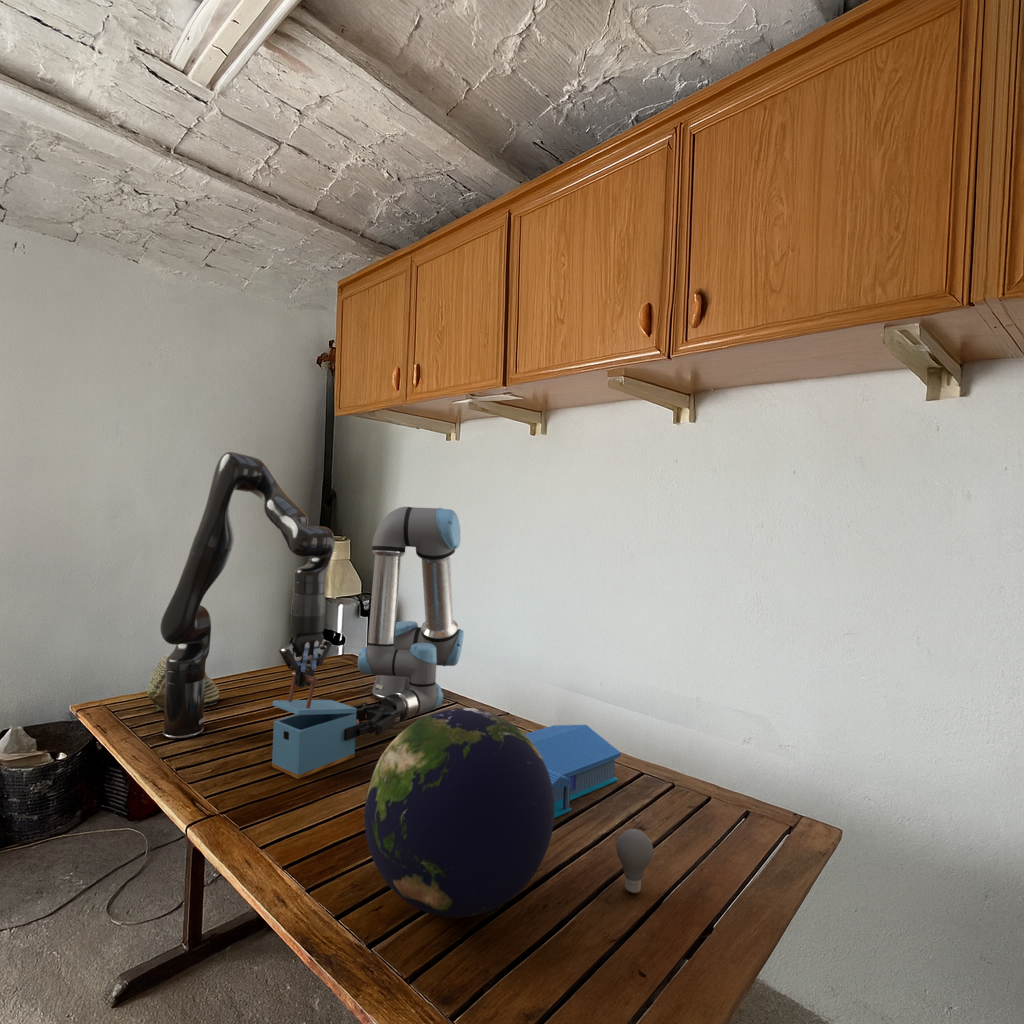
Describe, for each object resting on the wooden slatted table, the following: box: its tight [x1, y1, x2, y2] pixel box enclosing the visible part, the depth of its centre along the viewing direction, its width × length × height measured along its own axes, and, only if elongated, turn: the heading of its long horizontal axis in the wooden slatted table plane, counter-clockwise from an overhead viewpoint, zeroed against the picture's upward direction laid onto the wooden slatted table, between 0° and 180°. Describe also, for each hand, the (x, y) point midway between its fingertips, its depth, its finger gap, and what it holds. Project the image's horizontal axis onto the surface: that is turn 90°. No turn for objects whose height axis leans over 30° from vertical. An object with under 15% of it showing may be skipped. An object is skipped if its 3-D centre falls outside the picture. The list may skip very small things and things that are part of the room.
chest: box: [271, 713, 356, 780], centre depth 151 cm, size 16×10×11 cm, turn 145°
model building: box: [524, 724, 622, 819], centre depth 141 cm, size 39×24×10 cm, turn 132°
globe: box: [363, 707, 555, 919], centre depth 101 cm, size 30×30×30 cm
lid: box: [272, 670, 357, 715], centre depth 151 cm, size 17×10×8 cm, turn 145°
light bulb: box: [615, 828, 654, 894], centre depth 106 cm, size 6×6×10 cm
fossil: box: [147, 654, 221, 712], centre depth 185 cm, size 9×18×15 cm, turn 132°
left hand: (304, 685), depth 148 cm, fingers closed
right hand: (331, 729), depth 155 cm, fingers closed on chest, 10 cm apart
